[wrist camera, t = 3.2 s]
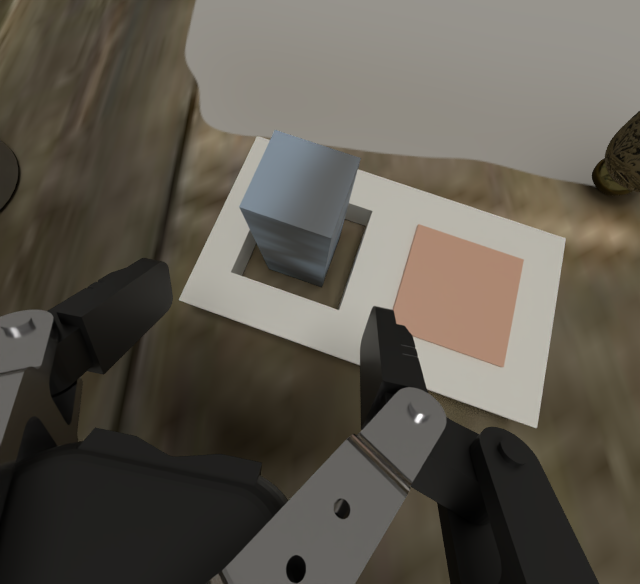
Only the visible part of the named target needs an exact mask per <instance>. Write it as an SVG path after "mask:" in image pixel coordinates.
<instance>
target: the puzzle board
mask: <svg viewBox="0 0 640 584" xmlns="http://www.w3.org/2000/svg"><path fill="white" fill-rule="evenodd" d="M269 141H270V140H268V139H265V138H262V137H259V136H257V138H256V140H255V142H254V144H253V146H252V148H251V150H250V152H249V154H248V156H247V158H246V160H245V163H244V165H243V167H242V169H241V171H240V173H239V175H238V177H237V179H236V181H235V183H234V186H233V188H232V190H231V192H230V194H229V196H228V198H227V200H226V202H225V204H224V206H223V208H222V211H221V213H220V215H219V217H218V219H217V221H216V223H215V225H214V227H213V229H212V231H211V234H210V236H209V238H208V240H207V242H206V244H205V246H204V248H203V250H202V252H201V254H200V256H199V259H198V261H197V263H196V265H195V267H194V269H193V271H192V273H191V275H190V277H189V279H188V282H187V284H186V286H185V288H184V290H183V292H182V294H181V296H180V298H179V300H180V301H183V302H185V303H187V304H190V305H192V306H195V307H198V308H201V309H203V310H206V311H209V312H212V313H215V314H217V315H220V316H223V317H226V318H228V319H231V320H234V321H237V322H240V323H242V324H245V325H248V326H251V327H254V328H256V329H259V330H262V331H265V332H268V333H270V334H273V335H276V336H279V337H281V338H284V339H287V340H290V341H293V342H295V343H298V344H301V345H304V346H307V347H309V348H312V349H315V350H318V351H321V352H323V353H326V354H329V355H332V356H334V357H337V358H340V359H343V360H346V361H348V362H351V363H354V364H357V365H360V345H361V340H362V336H363V333H364V330H365V327H366V324H367V321H368V318H369V315H370V312H371V310H372V307H373V306H377V307H382V308H387V309H392V310H393V311H394V314H395V319H396V324H399V325H404V326H405V327H406V328H407V329H408V331H409V332H410V333H411V334H412V336H413V339H414V343H415V349H416V350H417V354H418V358H419V362H420V365H421V369H422V373H423V377H424V381H425V384H426V388H427V390H429V391H432V392H435V393H438V394H440V395H443V396H446V397H449V398H452V399H454V400H457V401H460V402H463V403H466V404H468V405H471V406H474V407H477V408H479V409H482V410H485V411H488V412H491V413H493V414H496V415H499V416H502V417H505V418H507V419H510V420H513V421H516V422H519V423H522V424H525V425H528V426H531V427H534V428H537V424H538V418H539V411H540V405H541V398H542V392H543V385H544V378H545V372H546V365H547V359H548V352H549V346H550V339H551V332H552V326H553V319H554V313H555V306H556V300H557V293H558V287H559V280H560V273H561V267H562V260H563V254H564V247H565V241H566V238H563V237H560V236H557V235H554V234H551V233H548V232H545V231H542V230H539V229H536V228H533V227H530V226H527V225H524V224H521V223H518V222H515V221H512V220H509V219H506V218H503V217H500V216H497V215H494V214H491V213H488V212H485V211H482V210H479V209H476V208H473V207H470V206H467V205H464V204H461V203H458V202H455V201H452V200H449V199H445V198H442V197H439V196H436V195H433V194H430V193H427V192H424V191H421V190H418V189H415V188H412V187H409V186H406V185H403V184H400V183H397V182H394V181H391V180H388V179H385V178H382V177H379V176H376V175H373V174H370V173H367V172H364V171H361V170H357V174H356V178H355V182H354V185H353V189H352V193H351V197H350V200H349V204H348V208H347V212H346V215H345V219H347V220H349V221H352V222H355V223H358V224H361V225H364V226H366V227H365V230H364V233H363V236H362V239H361V242H360V245H359V248H358V251H357V254H356V256H355V259H354V262H353V265H352V268H351V271H350V274H349V277H348V280H347V283H346V286H345V289H344V292H343V295H342V298H341V301H340V304H339V307H338V310H337V309H334V308H331V307H329V306H326V305H323V304H320V303H317V302H314V301H311V300H309V299H306V298H303V297H300V296H297V295H294V294H292V293H289V292H286V291H283V290H280V289H277V288H275V287H272V286H269V285H266V284H263V283H260V282H258V281H255V280H252V279H249V278H246V277H243V276H242V275H243V272H244V270H245V268H246V266H247V263H248V261H249V259H250V256H251V254H252V252H253V249H254V247H255V245H256V241H255V239H254V237H253V235H252V233H251V231H250V229H249V226H248V224H247V222H246V220H245V218H244V216H243V214H242V212H241V210H240V208H239V206H240V204H241V202H242V199H243V197H244V195H245V193H246V191H247V189H248V187H249V184H250V182H251V180H252V178H253V176H254V174H255V171H256V169H257V167H258V165H259V163H260V161H261V159H262V156H263V154H264V152H265V150H266V148H267V146H268V143H269Z"/></svg>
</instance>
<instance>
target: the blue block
mask: <svg viewBox="0 0 640 584" xmlns="http://www.w3.org/2000/svg"><path fill="white" fill-rule="evenodd" d="M360 159H361V158H359V157H356V156H353V155H350V154H347V153H344V152H341V151H338V150H335V149H331V148H328V147H325V146H322V145H319V144H316V143H313V142H310V141H307V140H304V139H301V138H298V137H295V136H292V135H289V134H286V133H283V132H280V131H277V130H275V131H274V133H273V135H272V137H271V139H270V141H269V143H268V146H267V148H266V150H265V152H264V154H263V156H262V159H261V161H260V163H259V165H258V167H257V169H256V171H255V174H254V176H253V178H252V180H251V182H250V184H249V187H248V189H247V191H246V193H245V195H244V197H243V199H242V202H241V204H240V206H239V208H240V210H241V212H242V214H243V216H244V218H245V220H246V222H247V224H248V226H249V229H250V231H251V233H252V235H253V237H254V239H255V241H256V243H257V245H258V247H259V249H260V251H261V254H262V256H263V258H264V260H265V262H266V264H267V266H268V268H269V269H271V270H274V271H277V272H280V273H283V274H285V275H288V276H291V277H294V278H297V279H300V280H303V281H305V282H308V283H311V284H314V285H317V286H320V287H322V285H323V282H324V280H325V277H326V274H327V271H328V269H329V266H330V263H331V260H332V257H333V255H334V252H335V249H336V246H337V243H338V241H339V238H340V234H341V230H342V227H343V223H344V219H345V215H346V212H347V208H348V204H349V200H350V197H351V193H352V189H353V185H354V182H355V178H356V174H357V170H358V167H359V163H360Z"/></svg>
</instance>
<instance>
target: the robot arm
mask: <svg viewBox="0 0 640 584" xmlns="http://www.w3.org/2000/svg"><path fill="white" fill-rule="evenodd" d="M17 179H18V165H17V161H16V158H15V156H14V154H13V152H12V151H11V149H10V148H9V147H8V146H7V145H6V144H5V143H3V142H2V141H0V209H1V208H2V207H3V206H4V205H5V203H6V202H7V201H8V200H9V198H10V197H11V195H12V193H13V191H14V189H15V186H16V183H17ZM172 299H173V295H172V288H171V282H170V275H169V269H168V265H167V264H166V263H165V262H162V261H157V260H152V259H147V258H142V259H140V260H138V261H136V262H135V263H133V264H132V265H130V266H128V267H127V268H124V269H121V270H118V271H115V272H112V273H110V274H108V275H106V276H105V277H103V278H101V279H100V280H98V282H95V283H93V284H91V285H90V286H88V288H85V289H83V290H81V291H80V292H78V293H76V294H75V295H73V296H72V297H70V298H68V299H67V300H65V301H63V302H62V303H60V304H58V305H57V306H55V307H53V308H52V309H50V310H48V311H43V310H24V311H18V312H14V313H10V314H7V315H4V316H2V317H0V584H355V582H356V581H357V579H358V577H359V576H360V574H361V572H362V571H363V569H364V567H365V566H366V564H367V562H368V560H369V559H370V557H371V555H372V554H373V552H374V550H375V549H376V547H377V545H378V544H379V542H380V540H381V538H382V537H383V535H384V533H385V532H386V530H387V528H388V527H389V525H390V523H391V522H392V520H393V518H394V517H395V515H396V513H397V511H398V510H399V508H400V506H401V505H402V503H403V501H404V500H405V498H406V496H407V494H408V492H409V490H410V486H411V487H412V488H414V489H416V490H417V491H419V492H421V493H422V494H424V495H426V496H427V497H429V498H431V499H433V500H434V501H436V502H437V504H438V511H439V517H440V523H441V529H442V535H443V541H444V547H445V553H446V559H447V565H448V571H449V578H450V584H599V583H598V580H597V578H596V576H595V574H594V572H593V570H592V568H591V566H590V564H589V562H588V560H587V558H586V556H585V554H584V552H583V550H582V548H581V546H580V544H579V542H578V540H577V538H576V536H575V534H574V532H573V530H572V527H571V525H570V523H569V521H568V519H567V517H566V515H565V513H564V511H563V509H562V507H561V505H560V503H559V501H558V499H557V497H556V495H555V493H554V491H553V489H552V487H551V485H550V483H549V481H548V479H547V476H546V474H545V472H544V470H543V468H542V466H541V464H540V462H539V460H538V459H537V457H536V456H535V454H534V453H533V451H532V450H531V449H530V448H529V447H528V446H527V445H526V444H525V443H524V442H523V441H522V440H521V439H519V438H518V437H517V436H515V435H514V434H512V433H510V432H509V431H506V430H504V429H501V428H497V427H488V428H485V429H484V430H483V431H482V432H481V433H480V434H477V433H475V432H473V431H471V430H469V429H467V428H465V427H463V426H461V425H459V424H457V423H455V422H454V421H452V420H450V419H449V418H447V417H446V415H445V412H444V410H443V408H442V406H441V405H440V404H439V402H438V401H437V400H436V399H435V398H434V397H432V396H431V395H430V394H428V392H427V388H426V384H425V381H424V377H423V373H422V369H421V365H420V362H419V358H418V354H417V350H416V349H415V343H414V339H413V336H412V334H411V333H410V332H409V331H408V329H407V328H406V327H405V326H404V325H399V324H396V319H395V314H394V311H393V310H392V309H387V308H382V307H377V306H373V307H372V310H371V312H370V315H369V318H368V321H367V324H366V327H365V330H364V333H363V336H362V340H361V345H360V393H361V430H362V431H361V432H360V433H359V434H358V435H355V434H353V435H351V436H350V437H349V438H347V439H346V440H345V441H344V442H343V444H342V445H341V446H340V447H339V448H338V449H337V450H336V451H335V452H334V453H333V454H332V455H331V456H330V457H329V458H328V459H327V461H326V462H325V463H324V464H323V465H322V466H321V467H320V468H319V469H318V470H317V471H316V472H315V473H314V474H313V475H312V476H311V477H310V479H309V480H308V481H307V482H306V483H305V484H304V485H303V486H302V487H301V488H300V489H299V490H298V491H297V492H296V493H295V494H294V495H293V497H292V498H291V499H290V500H289V501H288V499H287V498H286V497H285V495H284V494H283V493H282V492H281V491H280V490H279V489H278V488H277V487H276V486H275V485H273V484H272V483H271V482H270V481H268V480H267V479H265V478H263V477H262V476H260V475H261V466H262V463H261V462H256V461H251V460H247V459H242V458H237V457H233V456H228V455H223V454H213V455H197V456H182V457H173V456H169V455H167V454H166V453H164V452H162V451H160V450H159V449H157V448H155V447H154V446H152V445H150V444H149V443H147V442H145V441H143V440H142V439H140V438H138V437H137V436H133V435H128V434H123V433H119V432H114V431H109V430H104V429H100V428H94V430H93V431H92V432H91V433H90V434H89V435H88V437H87V438H86V439H85V440H84V441H81V442H78V436H77V431H78V421H79V413H80V404H81V395H82V387H83V381H82V379H81V376H82V375H83V374H84V373H85V372H86V371H90V372H94V373H99V374H105V373H106V372H107V371H108V370H109V369H110V368H111V367H112V366H113V365H114V364H115V363H116V362H117V361H118V360H119V359H120V358H121V357H122V356H123V355H124V354H125V353H126V352H127V351H128V350H129V349H130V348H131V347H132V346H133V345H134V344H135V343H136V342H137V341H138V340H139V339H140V338H141V337H142V336H143V335H144V334H145V333H146V332H147V331H148V330H149V329H150V328H151V327H152V326H153V325H154V324H155V323H156V322H157V321H158V320H159V319H160V318H161V317H162V316H163V315H164V314H165V313H166V312H167V311H168V310H169V308H170V307H171V304H172Z"/></svg>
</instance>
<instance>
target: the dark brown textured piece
mask: <svg viewBox="0 0 640 584" xmlns="http://www.w3.org/2000/svg"><path fill="white" fill-rule="evenodd" d="M592 180H593V182H594V184H595V186H596V187H597V188H598V189H599V190H600V191H601V192H603V193H605V194H607V195H611V196H618V195H625V194H628V193H630V192H632V191H636V192H640V111H639V112H638V113H637V114H636V115H634V116H633V117H632V118H631V119H630V120H629V121H628V122H627V123H626V124H625V125H624V126H623V127H622V128H621V129H620V130H619V131H618V132H617V133H616V134H615V136H614V137H613V138H612V140H611V141H610V143H609V145H608V147H607V150H606V154H605V158H604V159H603V160H601V161H600V162H599V163H598V164H597V165H596V167H595V168H594V170H593V172H592Z"/></svg>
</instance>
